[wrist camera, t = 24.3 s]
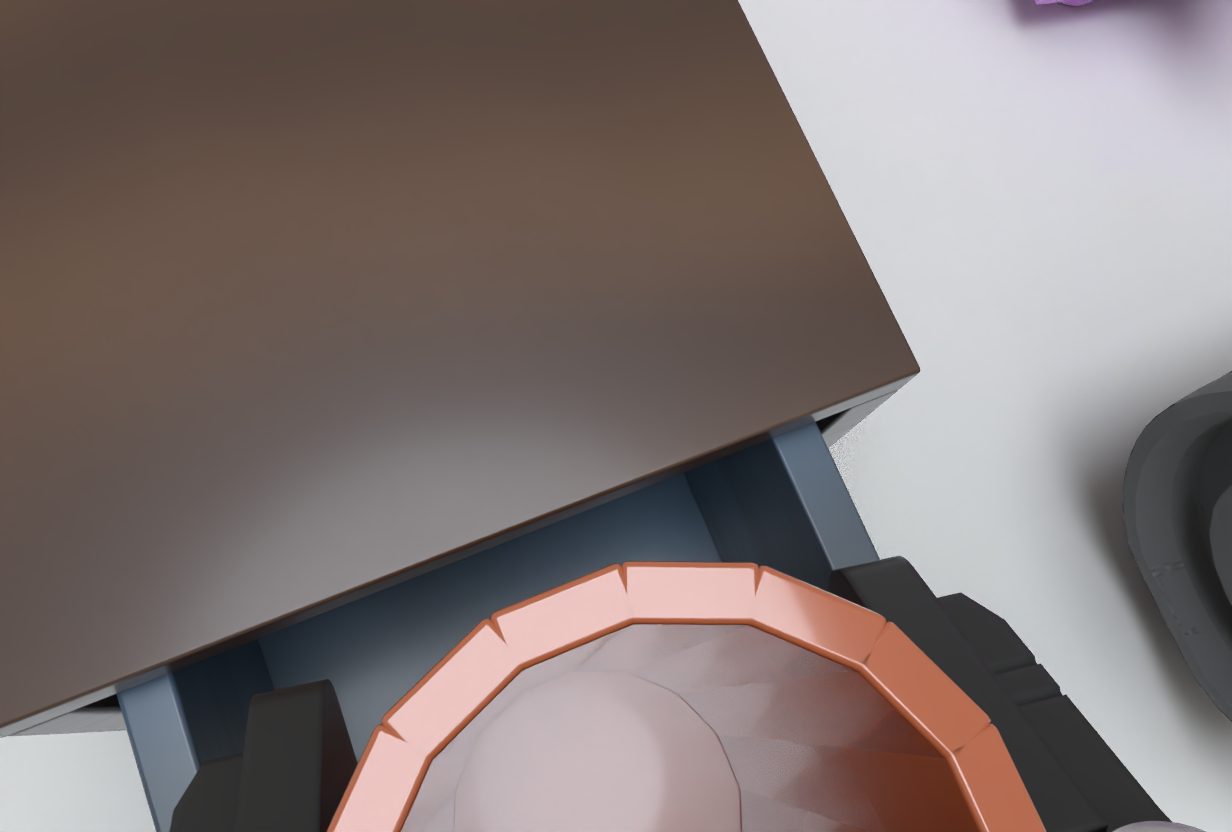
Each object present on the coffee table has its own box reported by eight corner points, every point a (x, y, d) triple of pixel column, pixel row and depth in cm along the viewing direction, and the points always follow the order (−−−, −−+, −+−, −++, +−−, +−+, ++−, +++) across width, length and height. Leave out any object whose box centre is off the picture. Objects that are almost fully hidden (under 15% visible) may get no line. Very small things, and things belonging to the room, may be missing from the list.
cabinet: (769, 497, 25) (922, 370, 16) (194, 728, 23) (-32, 740, 13) (530, -37, 29) (538, -405, 19) (6, 110, 26) (-281, -230, 17)
